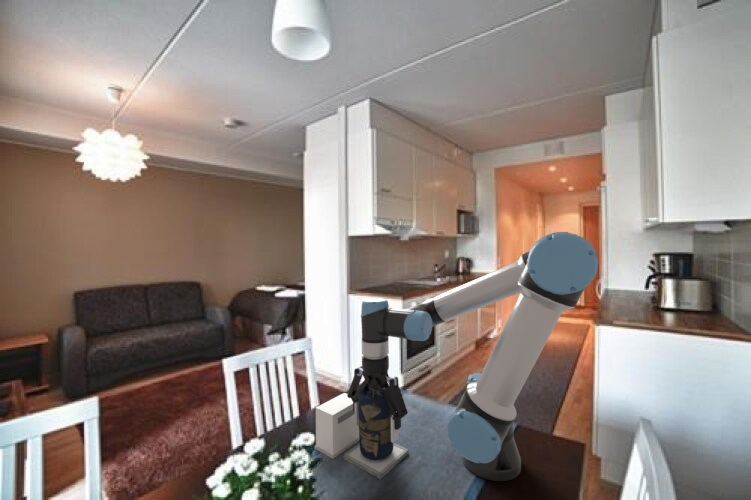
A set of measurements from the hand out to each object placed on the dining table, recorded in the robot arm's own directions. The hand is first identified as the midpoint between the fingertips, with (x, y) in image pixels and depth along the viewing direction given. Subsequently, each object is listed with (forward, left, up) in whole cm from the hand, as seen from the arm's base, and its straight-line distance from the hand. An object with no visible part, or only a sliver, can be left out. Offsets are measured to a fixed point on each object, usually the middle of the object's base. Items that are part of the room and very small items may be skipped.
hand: (376, 431), depth 91 cm
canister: (0, 0, -6) cm, 6 cm away
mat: (0, 0, -7) cm, 7 cm away
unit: (+13, +2, -7) cm, 14 cm away
